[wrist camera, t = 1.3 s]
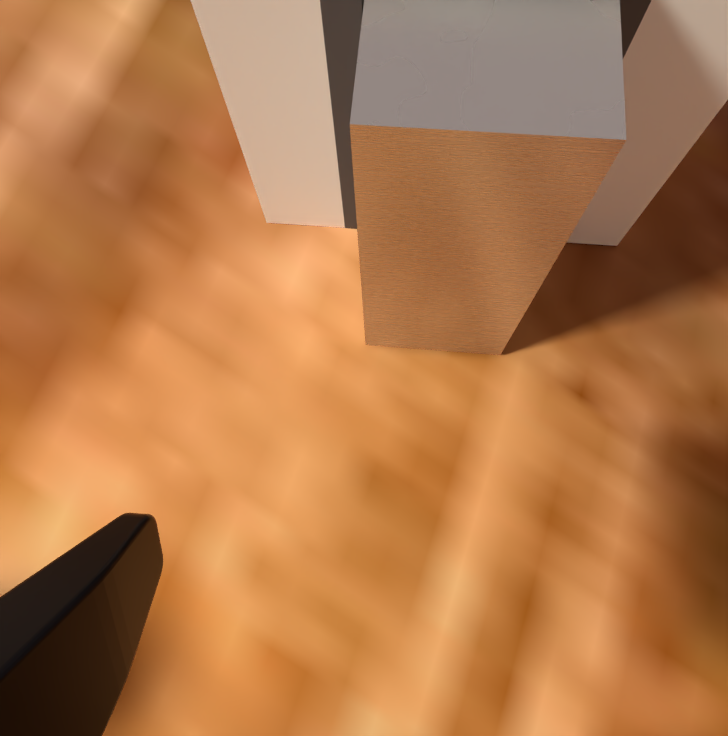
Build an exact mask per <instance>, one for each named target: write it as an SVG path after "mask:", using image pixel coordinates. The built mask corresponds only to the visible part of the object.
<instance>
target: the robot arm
mask: <svg viewBox="0 0 728 736" xmlns="http://www.w3.org/2000/svg"><path fill="white" fill-rule="evenodd" d="M162 567H163V554H162V549H161V544H160V538H159V533H158V528H157V523H156V520H155V518H154V517H153V516H152V515H150V514H138V513H125V514H123V515H121V516H119V517H117V518H116V519H115V520H113V521H112V522H110V523H109V524H107V525H106V526H104V527H103V528H101V529H100V530H98V531H97V532H95V533H94V534H92V535H91V536H90V537H88V538H87V539H85V540H84V541H82V542H81V543H79V544H78V545H76V546H75V547H73V548H72V549H70V550H69V551H67V552H66V553H65V554H63V555H62V556H60V557H59V558H57V559H56V560H54V561H53V562H51V563H50V564H48V565H47V566H45V567H44V568H42V569H41V570H40V571H38V572H37V573H35V574H34V575H32V576H31V577H29V578H28V579H26V580H25V581H23V582H22V583H20V584H19V585H17V586H16V587H15V588H13V589H12V590H10V591H9V592H7V593H6V594H4V595H3V596H1V597H0V736H102V735H103V732H104V730H105V728H106V726H107V723H108V721H109V719H110V717H111V714H112V712H113V710H114V707H115V705H116V703H117V701H118V698H119V696H120V694H121V691H122V689H123V686H124V684H125V682H126V679H127V677H128V674H129V671H130V668H131V666H132V663H133V660H134V657H135V654H136V651H137V647H138V644H139V641H140V638H141V635H142V632H143V629H144V626H145V622H146V619H147V616H148V613H149V610H150V607H151V604H152V601H153V597H154V594H155V591H156V588H157V585H158V582H159V579H160V576H161V572H162Z"/></svg>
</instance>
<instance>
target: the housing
mask: <svg viewBox="0 0 728 736" xmlns="http://www.w3.org/2000/svg"><path fill="white" fill-rule="evenodd" d="M191 3H192V6H193V8H194V11H195V14H196V17H197V20H198V23H199V26H200V29H201V32H202V35H203V38H204V41H205V44H206V46H207V49H208V52H209V55H210V58H211V61H212V64H213V67H214V70H215V73H216V76H217V79H218V82H219V84H220V87H221V90H222V93H223V96H224V99H225V102H226V105H227V108H228V111H229V114H230V117H231V120H232V122H233V125H234V128H235V131H236V134H237V137H238V140H239V143H240V146H241V149H242V152H243V155H244V158H245V160H246V163H247V166H248V169H249V172H250V175H251V178H252V181H253V184H254V187H255V190H256V193H257V196H258V198H259V201H260V204H261V207H262V210H263V213H264V216H265V219H266V222H267V223H279V224H295V225H310V226H325V227H340V228H355V229H357V218H356V205H355V191H354V177H353V164H352V150H351V136H350V117H351V108H352V100H353V91H354V83H355V74H356V66H357V57H358V49H359V40H360V32H361V23H362V15H363V6H364V0H191ZM620 14H621V35H622V56H623V77H624V98H625V119H626V142H625V143H624V145H623V147H622V148H621V150H620V152H619V153H618V155H617V157H616V159H615V160H614V162H613V164H612V165H611V167H610V169H609V171H608V172H607V174H606V176H605V177H604V179H603V181H602V182H601V184H600V186H599V188H598V189H597V191H596V193H595V194H594V196H593V198H592V199H591V201H590V203H589V205H588V206H587V208H586V210H585V211H584V213H583V215H582V217H581V218H580V220H579V222H578V223H577V225H576V227H575V228H574V230H573V232H572V234H571V235H570V237H569V239H568V240H567V243H582V244H597V245H612V246H617V245H618V244H619V243H620V241H621V240H622V239H623V237H624V236H625V235H626V233H627V232H628V231H629V229H630V228H631V227H632V226H633V224H634V223H635V222H636V220H637V219H638V218H639V216H640V215H641V214H642V212H643V211H644V210H645V208H646V207H647V206H648V204H649V203H650V202H651V200H652V199H653V198H654V196H655V195H656V194H657V192H658V191H659V190H660V188H661V187H662V186H663V185H664V183H665V182H666V181H667V179H668V178H669V177H670V175H671V174H672V173H673V171H674V170H675V169H676V167H677V166H678V165H679V163H680V162H681V161H682V159H683V158H684V157H685V155H686V154H687V153H688V151H689V150H690V149H691V147H692V146H693V145H694V144H695V142H696V141H697V140H698V138H699V137H700V136H701V134H702V133H703V132H704V130H705V129H706V128H707V126H708V125H709V124H710V122H711V121H712V120H713V118H714V117H715V116H716V114H717V113H718V112H719V110H720V109H721V108H722V106H723V105H724V104H725V103H726V101H727V100H728V0H620Z"/></svg>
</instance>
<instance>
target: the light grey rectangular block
mask: <svg viewBox="0 0 728 736" xmlns="http://www.w3.org/2000/svg"><path fill="white" fill-rule="evenodd" d="M350 136H351V150H352V164H353V177H354V191H355V205H356V218H357V232H358V246H359V259H360V273H361V287H362V300H363V314H364V328H365V341H366V345H375V346H388V347H401V348H414V349H427V350H440V351H453V352H466V353H480V354H493V355H501V353H502V351H503V349H504V348H505V346H506V344H507V343H508V341H509V339H510V338H511V336H512V334H513V332H514V331H515V329H516V327H517V326H518V324H519V322H520V320H521V319H522V317H523V315H524V314H525V312H526V310H527V309H528V307H529V305H530V303H531V302H532V300H533V298H534V297H535V295H536V293H537V292H538V290H539V288H540V286H541V285H542V283H543V281H544V280H545V278H546V276H547V274H548V273H549V271H550V269H551V268H552V266H553V264H554V263H555V261H556V259H557V257H558V256H559V254H560V252H561V251H562V249H563V247H564V246H565V244H566V242H567V240H568V239H569V237H570V235H571V234H572V232H573V230H574V228H575V227H576V225H577V223H578V222H579V220H580V218H581V217H582V215H583V213H584V211H585V210H586V208H587V206H588V205H589V203H590V201H591V199H592V198H593V196H594V194H595V193H596V191H597V189H598V188H599V186H600V184H601V182H602V181H603V179H604V177H605V176H606V174H607V172H608V171H609V169H610V167H611V165H612V164H613V162H614V160H615V159H616V157H617V155H618V153H619V152H620V150H621V148H622V147H623V145H624V143H625V142H626V119H625V98H624V77H623V56H622V35H621V14H620V0H364V6H363V15H362V23H361V32H360V40H359V49H358V57H357V66H356V74H355V83H354V91H353V100H352V108H351V117H350Z"/></svg>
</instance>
